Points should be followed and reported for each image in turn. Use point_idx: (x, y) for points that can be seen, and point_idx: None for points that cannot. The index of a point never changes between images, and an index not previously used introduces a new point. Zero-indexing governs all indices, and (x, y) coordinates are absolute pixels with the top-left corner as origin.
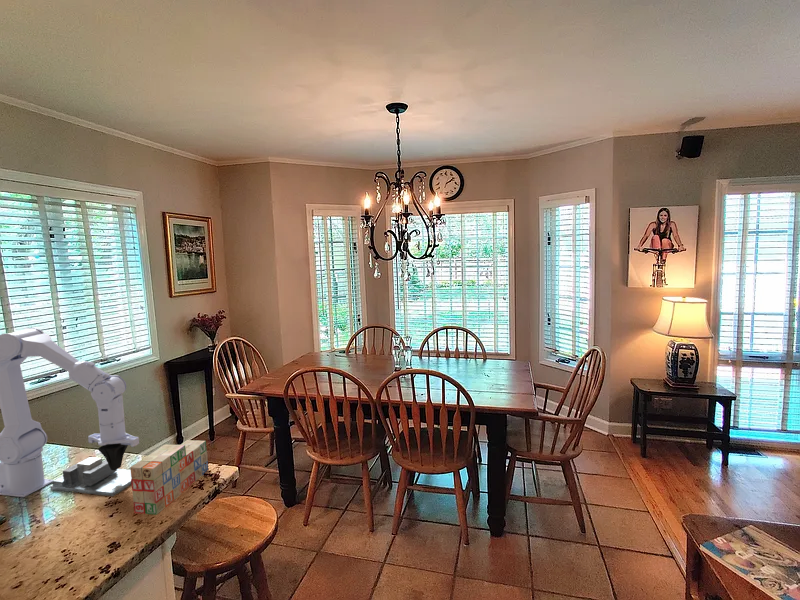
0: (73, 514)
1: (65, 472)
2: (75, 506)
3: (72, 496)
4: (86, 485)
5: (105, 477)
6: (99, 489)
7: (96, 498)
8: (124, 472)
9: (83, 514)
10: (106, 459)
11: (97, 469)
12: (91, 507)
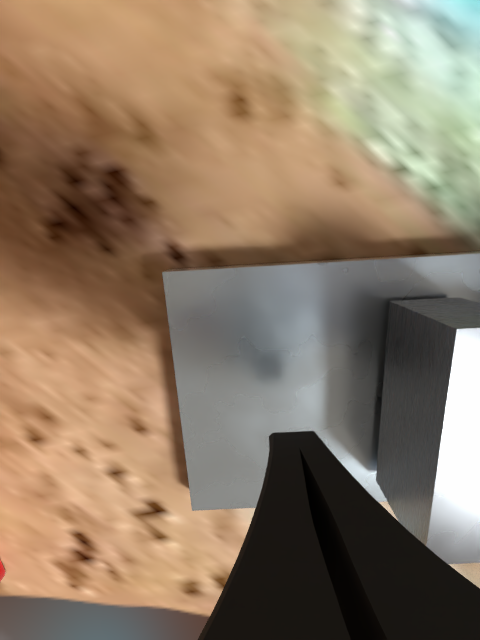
0: (233, 8)
1: None
2: (314, 104)
3: (447, 205)
4: None
5: None
6: (296, 283)
7: (256, 223)
8: None
9: (159, 28)
10: (385, 516)
11: (445, 404)
12: (187, 122)
